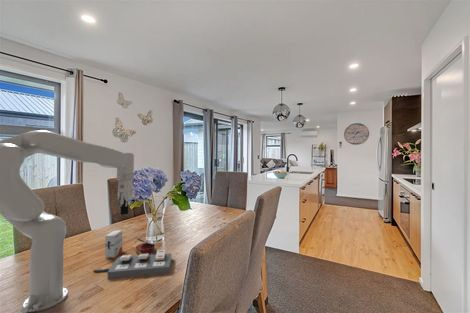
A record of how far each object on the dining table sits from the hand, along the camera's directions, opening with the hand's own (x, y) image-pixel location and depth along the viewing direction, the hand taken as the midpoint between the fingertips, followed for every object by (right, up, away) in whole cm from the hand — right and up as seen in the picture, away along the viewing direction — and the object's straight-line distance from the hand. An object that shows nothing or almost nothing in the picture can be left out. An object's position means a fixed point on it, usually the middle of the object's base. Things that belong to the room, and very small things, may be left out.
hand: (124, 213), depth 108 cm
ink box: (-11, -25, +10) cm, 29 cm away
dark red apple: (+4, -25, +15) cm, 30 cm away
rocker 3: (+18, -21, 0) cm, 27 cm away
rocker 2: (+10, -20, -2) cm, 23 cm away
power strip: (+7, -25, -4) cm, 26 cm away
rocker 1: (+2, -20, -3) cm, 21 cm away
